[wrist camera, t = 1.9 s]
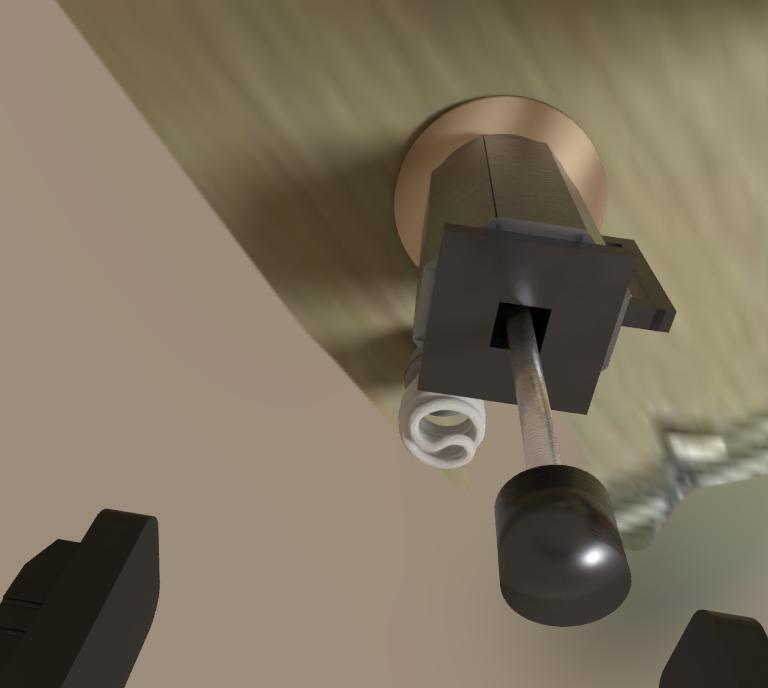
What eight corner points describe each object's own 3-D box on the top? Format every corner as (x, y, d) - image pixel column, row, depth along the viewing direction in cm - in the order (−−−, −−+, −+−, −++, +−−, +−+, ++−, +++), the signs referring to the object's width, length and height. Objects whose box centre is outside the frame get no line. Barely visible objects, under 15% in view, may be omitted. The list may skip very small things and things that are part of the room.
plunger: (593, 230, 36) (728, 511, 18) (560, 347, 39) (648, 676, 22) (458, 211, 36) (466, 473, 18) (437, 329, 39) (427, 644, 22)
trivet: (630, 111, 45) (633, 114, 44) (574, 308, 52) (576, 313, 51) (409, 80, 45) (408, 82, 44) (383, 281, 52) (382, 285, 51)
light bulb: (394, 363, 55) (381, 462, 45) (424, 304, 53) (418, 395, 42) (460, 390, 56) (462, 494, 46) (493, 333, 54) (504, 430, 43)
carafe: (637, 151, 45) (727, 257, 31) (596, 287, 50) (657, 435, 35) (438, 123, 45) (432, 215, 31) (417, 262, 50) (403, 398, 36)
